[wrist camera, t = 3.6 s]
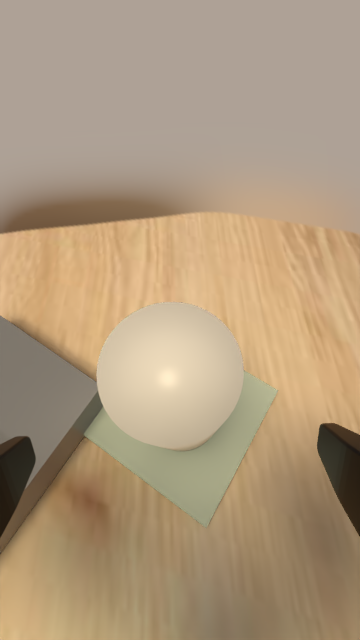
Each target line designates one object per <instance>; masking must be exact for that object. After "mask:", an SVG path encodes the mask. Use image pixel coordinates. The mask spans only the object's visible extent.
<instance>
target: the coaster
mask: <svg viewBox="0 0 360 640" xmlns="http://www.w3.org/2000/svg"><path fill="white" fill-rule="evenodd" d="M277 392H278V390H276V389H275V388H273V387H271V386H270V385H268V384H266V383H265V382H263V381H261V380H259V379H258V378H256V377H254V376H253V375H251V374H249V373H248V372H246V371H244V380H243V386H242V391H241V394H240V397H239V400H238V402H237V404H236V406H235V408H234V410H233V411H232V413H231V414H230V416H229V417H228V418H227V420H226V421H225V422H224V423H223V424H222V425H221V426H220V428H219V429H218V430H217V431H216V432H215V433H214V434H213V435H212V436H211V437H210V439H209V440H208V441H207V442H206V443H204V444H203V445H202V446H200V447H198V448H196V449H194V450H190V451H174V450H170V449H166V448H162V447H158V446H154V445H150V444H147V443H143V442H141V441H139V440H136V439H134V438H133V437H131V436H129V435H128V434H126V433H125V432H124V431H122V430H121V429H120V428H119V427H118V426H117V425H116V424H115V423H114V422H113V421H112V420H111V418H110V417H109V415H108V414H107V412H106V411H105V409H104V406H103V408H102V409H101V410H100V412H99V413H98V415H97V416H96V417H95V419H94V420H93V422H92V423H91V424H90V426H89V427H88V429H87V430H86V431H85V433H84V434H83V435H84V436H85V437H87V438H88V439H89V440H91V441H92V442H93V443H95V444H96V445H97V446H99V447H100V448H101V449H103V450H104V451H105V452H107V453H108V454H109V455H110V456H112V457H113V458H114V459H116V460H117V461H118V462H120V463H121V464H122V465H124V466H125V467H126V468H128V469H129V470H130V471H132V472H133V473H134V474H136V475H137V476H138V477H139V478H141V479H142V480H143V481H145V482H146V483H147V484H149V485H150V486H151V487H153V488H154V489H155V490H157V491H158V492H159V493H161V494H162V495H163V496H165V497H166V498H167V499H168V500H170V501H171V502H172V503H174V504H175V505H176V506H178V507H179V508H180V509H182V510H183V511H184V512H186V513H187V514H188V515H190V516H191V517H192V518H194V519H195V520H196V521H198V522H199V523H200V524H201V525H203V526H204V527H205V528H207V526H208V524H209V522H210V520H211V518H212V516H213V514H214V513H215V511H216V509H217V507H218V505H219V503H220V501H221V499H222V497H223V495H224V493H225V491H226V490H227V488H228V486H229V484H230V482H231V480H232V478H233V476H234V474H235V472H236V470H237V468H238V467H239V465H240V463H241V461H242V459H243V457H244V455H245V453H246V451H247V449H248V447H249V445H250V444H251V442H252V440H253V438H254V436H255V434H256V432H257V430H258V428H259V426H260V424H261V423H262V421H263V419H264V417H265V415H266V413H267V411H268V409H269V407H270V405H271V403H272V401H273V400H274V398H275V396H276V394H277Z"/></svg>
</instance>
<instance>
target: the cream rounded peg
mask: <svg viewBox="0 0 360 640" xmlns="http://www.w3.org/2000/svg"><path fill="white" fill-rule="evenodd" d="M243 380H244V367H243V359H242V355H241V351H240V348H239V346H238V343H237V341H236V340H235V338H234V336H233V334H232V333H231V331H230V330H229V329H228V327H227V326H226V325H225V324H224V323H223V322H222V321H221V320H220V319H218V318H217V317H216V316H215V315H213V314H212V313H210V312H208V311H207V310H204V309H202V308H200V307H198V306H195V305H192V304H187V303H182V302H163V303H156V304H153V305H149V306H146V307H144V308H141V309H139V310H137V311H135V312H133V313H132V314H130V315H129V316H127V317H126V318H125V319H123V320H122V321H121V322H120V323H119V324H118V325H117V326H116V327H115V328H114V329H113V331H112V332H111V333H110V335H109V336H108V338H107V339H106V341H105V343H104V345H103V347H102V350H101V353H100V355H99V360H98V364H97V387H98V393H99V396H100V399H101V402H102V404H103V406H104V409H105V411H106V412H107V414H108V415H109V417H110V418H111V420H112V421H113V422H114V423H115V424H116V425H117V426H118V427H119V428H120V429H121V430H122V431H124V432H125V433H126V434H128V435H129V436H131V437H133V438H134V439H136V440H139V441H141V442H143V443H147V444H150V445H154V446H158V447H162V448H166V449H170V450H174V451H190V450H194V449H196V448H198V447H200V446H202V445H203V444H204V443H206V442H207V441H208V440H209V439H210V437H211V436H212V435H213V434H214V433H215V432H216V431H217V430H218V429H219V428H220V426H221V425H222V424H223V423H224V422H225V421H226V420H227V418H228V417H229V416H230V414H231V413H232V411H233V410H234V408H235V406H236V404H237V402H238V400H239V397H240V394H241V391H242V386H243Z"/></svg>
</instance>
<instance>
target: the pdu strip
mask: <svg viewBox="0 0 360 640" xmlns="http://www.w3.org/2000/svg"><path fill="white" fill-rule="evenodd" d="M102 408H103V404H102V402H101V399H100V396H99V393H98V387H97V382H95V381H94V380H93V379H91V378H90V377H88V376H87V375H85V374H84V373H82V372H81V371H80V370H78V369H77V368H75V367H74V366H72V365H71V364H69V363H68V362H67V361H65V360H64V359H62V358H61V357H59V356H58V355H56V354H55V353H54V352H52V351H51V350H49V349H48V348H46V347H45V346H44V345H42V344H41V343H39V342H38V341H36V340H35V339H33V338H32V337H31V336H29V335H28V334H26V333H25V332H23V331H22V330H20V329H19V328H18V327H16V326H15V325H13V324H12V323H10V322H9V321H7V320H6V319H5V318H3V317H2V316H0V444H2V443H4V442H6V441H8V440H10V439H12V438H14V437H16V436H28V437H30V439H31V442H32V445H33V449H34V452H35V456H36V462H35V466H34V468H33V470H32V473H31V475H30V478H29V480H28V482H27V485H26V487H25V490H24V492H23V494H22V497H21V499H20V502H19V504H18V506H17V508H16V510H15V512H14V514H13V516H12V518H11V520H10V522H9V523H8V525H7V527H6V529H5V531H4V533H3V534H2V536H1V538H0V553H1V552H2V551H3V549H4V548H5V546H6V545H7V544H8V542H9V541H10V539H11V538H12V537H13V535H14V534H15V532H16V531H17V530H18V528H19V527H20V525H21V524H22V523H23V521H24V520H25V518H26V517H27V516H28V514H29V513H30V511H31V510H32V509H33V507H34V506H35V504H36V503H37V502H38V500H39V499H40V497H41V496H42V495H43V493H44V492H45V491H46V489H47V488H48V486H49V485H50V484H51V482H52V481H53V479H54V478H55V477H56V475H57V474H58V472H59V471H60V470H61V468H62V467H63V465H64V464H65V463H66V461H67V460H68V458H69V457H70V456H71V454H72V453H73V451H74V450H75V449H76V447H77V446H78V444H79V443H80V442H81V440H82V439H83V437H84V435H83V434H84V433H85V431H86V430H87V429H88V427H89V426H90V424H91V423H92V422H93V420H94V419H95V417H96V416H97V415H98V413H99V412H100V410H101V409H102Z"/></svg>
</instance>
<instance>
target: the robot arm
mask: <svg viewBox="0 0 360 640" xmlns="http://www.w3.org/2000/svg"><path fill="white" fill-rule="evenodd" d="M317 449H318V453H319V456H320V458H321V460H322V463H323V465H324V467H325V470H326V472H327V474H328V477H329V479H330V481H331V484H332V486H333V488H334V491H335V493H336V495H337V497H338V499H339V501H340V503H341V504H342V506H343V508H344V510H345V512H346V513H347V515H348V517H349V519H350V520H351V522H352V524H353V526H354V527H355V529H356V531H357V533H358V535H359V536H360V435H359V434H357V433H354V432H352V431H350V430H348V429H346V428H344V427H342V426H339V425H337V424H335V423H323V424H321V425H320V428H319V435H318V442H317ZM35 462H36V456H35V452H34V449H33V445H32V442H31V439H30V437H28V436H16V437H14V438H12V439H10V440H8V441H6V442H4V443H2V444H0V538H1V536H2V534H3V533H4V531H5V529H6V527H7V525H8V523H9V522H10V520H11V518H12V516H13V514H14V512H15V510H16V508H17V506H18V504H19V502H20V499H21V497H22V494H23V492H24V490H25V487H26V485H27V482H28V480H29V478H30V475H31V473H32V470H33V468H34V466H35Z"/></svg>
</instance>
